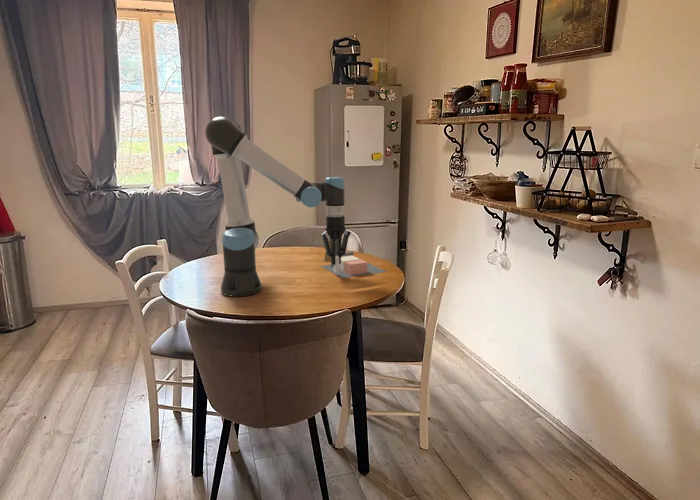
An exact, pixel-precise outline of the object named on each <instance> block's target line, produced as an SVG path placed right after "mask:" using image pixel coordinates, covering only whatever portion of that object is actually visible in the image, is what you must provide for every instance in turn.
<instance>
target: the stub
mask: <svg viewBox="0 0 700 500" xmlns="http://www.w3.org/2000/svg"><path fill="white" fill-rule="evenodd" d="M367 263H368V262H367V261H365V260H363V259H360V260H354V261H347V262H345V272H346V273H347V274H349V275H355V274H362V273H367Z"/></svg>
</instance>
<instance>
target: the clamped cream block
mask: <svg viewBox="0 0 700 500" xmlns="http://www.w3.org/2000/svg"><path fill="white" fill-rule="evenodd" d="M336 256H337V255H336ZM354 260H361V259H360V258H358V257H357V256H354V252H353V251H352V250H349V251H346V252H345V255H342V257H341V264H339V269H340V270H342V271H345V262H347V261H354ZM330 265H331V267H333V265H332V264H331V263H330Z"/></svg>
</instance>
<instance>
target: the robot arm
mask: <svg viewBox="0 0 700 500" xmlns="http://www.w3.org/2000/svg"><path fill="white" fill-rule="evenodd" d="M204 133H205V137H206V140H207V142H208V143H209V144H210V145H211V146H210V147H211V151H212V156H213V157H215V159H216V160H217V162H218V169H219V175H220V181H221V185H222V186H221V188H222V192H223V199H224V204H225V210H226V216H227V222H226V223H225V224H224V228H225V231H224V232H223V233H222V239H221V242H222V252H223V253H222V254H223V267H224V273H223V277H222V282H221V285H220V292H222V293H223V294H226V295H232V296H242V297H246V296H245V295H249V296H253V295H252V294H254V295H257V294H258V293H261V292H262V283H261V279H260V277H259V275H258V272H257V263H256V250H257V247H258V244H259V235H258V231H257V230H256V229H257V228H256V224H255V220H254V219H253V218H252V217H251V216H250V215H251V214H250V210H249V209H250V208H249V203H248V202H249V201H248V196H247V191H246V184H245V178H244V171H243V166H242V165H243V164H242V163H244V164H246V165H247V166H249V167H250V168H251V169H253V170H255V171H257V173H259V174H260V175H262V176H263V177H265V178H266V179H268V180H269V181H271V182H272V183H274V184H275V185H277V186H278V187H280V188H281V189H282V190H284V191H286V192H287V193H288V194H290V195H291V196H293V197H294V198H295V200H296V202H299V203H300V202H301V203H302V204H303V206H305V207H308V208H315V207H317V206H318V205H319V204H320V203H321V202H325V215H326V217H325V221H326V222H325V224H326V227H325V231H324V232H322V233H320V237H321V238H322V241H323V242H322V243H323V245H324V249H325V254H327V255H328V256H331V261H330V265H331V264H332V265H333V272H335V273H339V264H341V257H342V255H345V252H347V246H348V243H349V242H348V241H349V237H350V235H351V231H350V230H347V229H346V226H345V223H346V218H345V209H346V208H345V180H344V178H343V177H341V176H328V177H325V181H324V182H310V181H307V180H306V179H305V178H303V177H302V176H300V175H299V174H298V173H296V172H295V171H293V170H292V169H290V168H289V167H288V166H286V165H285V164H283V163H282V162H281V161H279V160H278V159H276V158H275V157H274V156H272V155H271V154H269V153H268V152H266V151H265V150H264V149H262V148H260V147H259V146H257V144H255V143H253V142H252V141H250V140H249V139H248V135H247V134H245V133H244V132H243V131H242V128H241V125H239V123H238V122H237V121H236V120H235V119H233V118H230V117H225V116H217V117H214V118H212V119H211V120H209V122H208V123H207V124H206V127H205V131H204ZM328 237H329V239H328ZM329 241H330V246H329ZM330 249H331V250H330ZM336 255H337V256H336ZM222 293H221V294H222ZM256 293H257V294H256ZM223 294H222V295H223ZM226 295H225V296H226ZM232 296H231V297H232Z"/></svg>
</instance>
